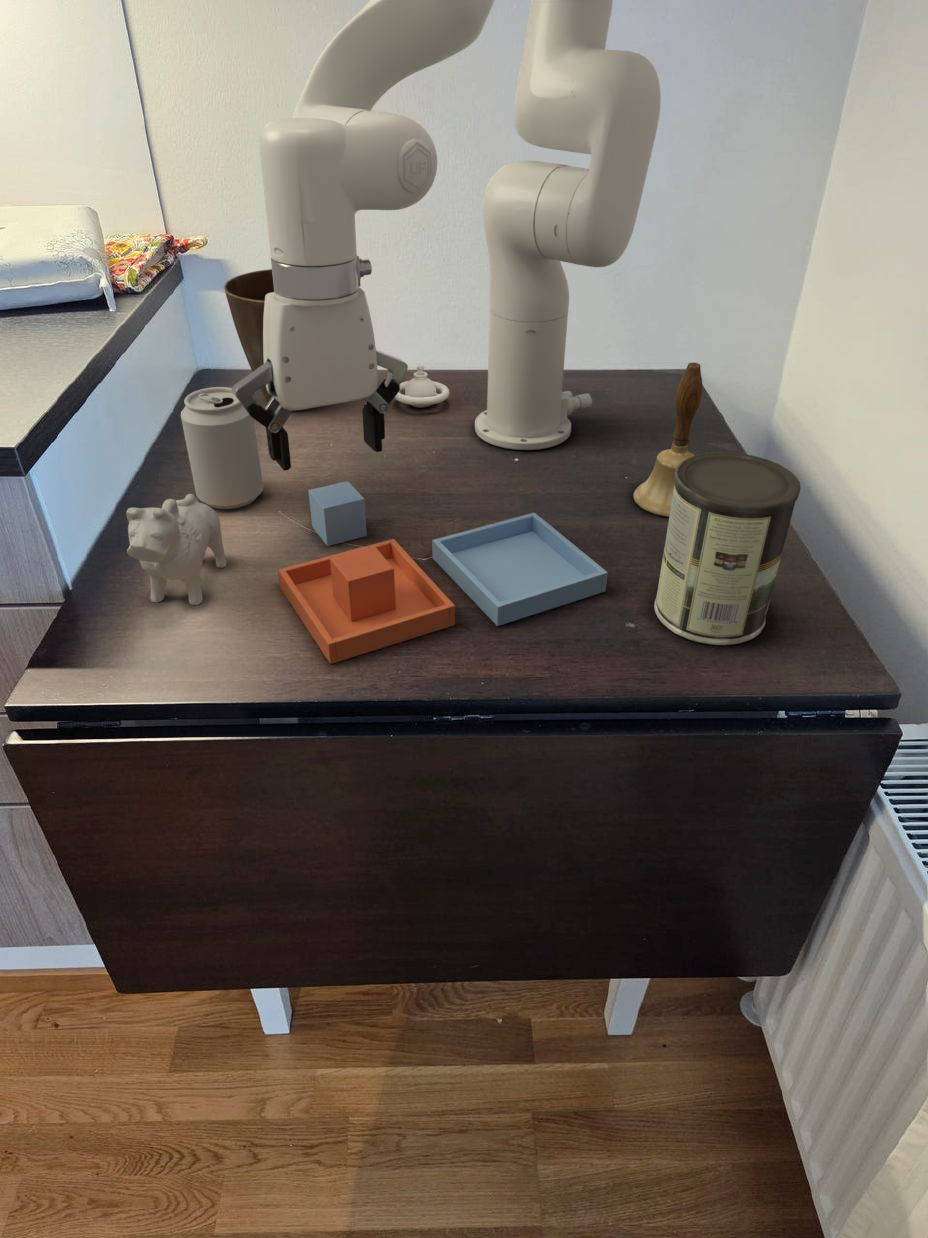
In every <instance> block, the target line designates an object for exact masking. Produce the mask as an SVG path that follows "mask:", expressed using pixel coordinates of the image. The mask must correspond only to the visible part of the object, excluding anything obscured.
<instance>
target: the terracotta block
mask: <svg viewBox="0 0 928 1238" xmlns="http://www.w3.org/2000/svg"><path fill="white" fill-rule="evenodd" d="M330 566H331V576H332V587H333V597H334V598H335V600H336V601H337V603H338V604H339V605H340V607H341V608H342V609H343V611H344V612H345V613H346V615H347V616H348V617H349V619H350V620H351V621H352V622H353V621H356V620H359V619H363V618H366V617H369V616H373V615H376V614H379V613H383V612H386V611H390V610H393V609H396V600H395V579H394V568H393V567H392V566H391V565H390V563H389V562H388V561H387V560H386V559H385V558H384V557H383V555H382V554H381V553H380V552H379V551H378V550H377V548H376V547H375V546H371V547H368V548H364V549H360V550H356V551H353V552H349V553H345V554H341V555H337V556H334V557H330Z"/></svg>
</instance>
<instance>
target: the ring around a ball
mask: <svg viewBox="0 0 928 1238" xmlns="http://www.w3.org/2000/svg"><path fill="white" fill-rule="evenodd" d="M416 370H417V371H415V372H414V373H413V374H412V375H413V378H411V379H410V380H407V381H402V383H401V384H400V390H399V392H398V394H397V395H396V396H395V397H394V400H396V401H397V402H399V403H402V404H406V405H411V406H412V407H414V408H428V407H430V406H431V405H436V404H440V403H443V402H444V401H446V400H448V398H449V397H450V394H451V393H450V389H449V388H448V386H447V385H445V384H443V383H442V382H439V381H434V380H431V379H430V378H428V375H429V374H428V373H427V372H426V371H424V370H425V367H424V365H423V364H418V365H417V366H416ZM403 391H404V394H402V393H401V392H403ZM437 391H439V392H440V393H437Z"/></svg>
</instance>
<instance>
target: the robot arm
mask: <svg viewBox="0 0 928 1238" xmlns="http://www.w3.org/2000/svg"><path fill="white" fill-rule="evenodd" d="M495 1H496V0H369V1H368V2H367V3H366V4H365V5H364V6H363V7H362V8H361V9H360V10H359V11H358V12H357V13H356V14H355V15H354V16H353V17H352V18H351V19H350V20H349V21H348V22H347V23H346V24H345V25H343V27H342V28H341V29H339V31H338V32H336V34H335V35H334V36H333V37H332V39H330V41H329V42H328V44H327V45H326V46H325V47H324V49H323V50H322V52H321V53H320V54H319V56H318V58H316V60H315V63H314V65H313V67H312V69H311V71H310V73H309V76H308V77H307V80H306V82H305V85H304V86H303V89H302V92H301V94H300V96H299V98H298V101H297V103H296V106H295V108H294V111H293V113H292V117H289V118H287V117H286V118H281V119H274V120H272V121H270V122H267V123H266V124H265V125H264V126H263V127H262V128H261V131H260V134H259V156H260V165H261V175H262V185H263V186H262V187H263V193H264V194H263V195H264V205H265V214H266V215H265V216H266V225H267V234H268V245H269V253H270V254H269V255H270V263H271V269H272V275H273V285H274V292H272V293H268V294H267V295H266V296H265V304H264V316H263V357H264V364H263V365H262V366H260V367H259V368H257V369H256V370H255V371H253V372H250V373H249V374H248V375H246V376H245V377H243V378H242V379H240V380H239V381H238V382H236V383H235V384H234V385H232V387H231V388H232V392H233V393H234V395H235V396H236V398H237V399H238V400H239V402H240V403H241V404H242V406H243V407H244V408H245V410H246V411H247V412H248V414H249V415H250V416H251V417H252V418H253V419H254V421H256V422H258V424H260V425H262V426H263V427H264V428H265V432H266V440H267V450H268V456H269V457H270V459H271V460H272V461H275V462H276V463H277V465H279V467H280V469H282V471H289V470H290V469H291V468H292V462H291V453H290V452H291V451H290V443H289V442H290V441H289V434H288V433H289V432H288V431H287V430H286V429H285V428H284V425H285V424H286V423H287V421H288V419H289V418H290V416H291V415H292V413H293V412H294V411H293V410H302V409H308V410H310V409H309V408H311V409H314V408H319V407H326V406H331V405H332V406H333V405H337V404H338V405H339V404H343V403H349V402H355V401H359V400H363V399H364V400H365V401H366V404H363V407H362V409H361V410H362V430H363V433H362V434H363V442H364V443H365V444H366V445H367V446H368V447H369V448H370V449H371V450H372V451H373V452H375V453H380V452H382V451H383V440H385V439H386V427H385V414H387V412H388V411H389V409H390V404H391V403H392V402H393V400H395V398H394V397H395V396H396V395H397V394H398V392H399V390H400V384H401V383H402V382H404V381H403V380H404V378H405V376H406V373H407V371H408V368H409V366H408V364H407V363H406V362H405V361H404V360H402V359H401V358H398V357H395V356H393V355H391V354H388V353H385V352H383V351H381V350H378V349H376V340H375V334H374V333H375V332H374V327H373V322H372V317H371V311H370V307H369V303H368V300H367V296H366V292H365V291H364V290H363V289H362V288H361V279H362V278H364V277H365V276H371V274H372V273H373V267H372V263H371V261H370V259H368V258H367V259H362V258H360V256H358V254H357V253H358V252H357V231H356V213H357V212H359V211H369V210H370V211H399V210H404V209H407V208H409V207H412V206H414V205H416V204H417V203H418V202H420V201H421V200H423V198H424V197H425V196H426V195H427V194H428V193H429V191H430V190H431V188H432V186H433V184H434V182H435V180H436V176H437V172H438V155H437V149H436V146H435V145H436V144H435V143H434V141H433V139H432V137H431V135H430V134H429V132H428V131H427V129H425V128H424V127H423V126H422V125H421V124H420V123H419V122H417V121H416V120H414V119H412V118H410V117H408V116H405V115H401V114H398V113H392V112H385V111H375V110H373V108H374V106H375V105H376V104H377V103H378V102H379V100H380V99H381V98H382V97H383V96H385V94H386V93H387V92H388V91H389V90H391V89H392V88H393V87H394V86H396V85H397V84H398V83H399V82H401V81H403V80H404V79H406V78H408V77H410V76H411V75H413V74H415V73H417V72H420V71H422V70H424V69H427V68H428V67H433V66H434V65H436V64H438V63H440V62H443V61H444V60H447V59H449V58H450V57H453V56H454V55H456V54H458V53H461V51H463V50H465V49H468V47H470V46H471V45H472V44H474V42H475V41H476V40H477V39H479V37H480V35H481V33H482V32H483V29H484V27H485V25H486V22H487V19H488V17H489V15H490V13H491V10H492V8H493V5H494V3H495ZM613 1H614V0H530V3H529V11H528V18H527V25H526V29H525V35H524V40H523V48H522V54H521V59H520V66H519V70H518V76H517V77H518V78H517V82H516V88H515V96H514V105H513V123H514V127H515V131H516V132H517V134H518V135H519V137H520V138H521V139H522V140H523V141H525V142H526V143H528V144H530V145H532V146H535V147H539V148H543V149H549V150H555V151H562V152H569V153H576V154H578V153H579V154H584V155H590V163H589V168H586V167H579V166H572V165H568V164H561V163H555V162H547V161H540V160H539V161H538V160H519V161H513V162H510V163H507V164H505V165H504V166H502V167H500V168H499V169H497V170H496V172H495V173H493V174H492V176H491V177H490V179H489V181H488V183H487V185H486V187H485V190H484V195H483V201H482V220H483V228H484V234H485V240H486V245H487V253H488V263H489V264H488V265H489V313H488V314H489V315H488V316H489V317H488V319H489V320H488V322H489V323H488V354H487V356H488V358H487V359H488V360H487V361H488V362H487V393H486V395H487V396H486V397H487V399H486V404H487V405H486V409H485V410H484V411H482V412H480V413H479V414H478V415H477V416H476V417H475V419H474V432H475V434H476V435H477V437H479V438H480V439H481V440H482V441H484V442H486V443H488V444H490V445H493V446H495V447H499V448H502V449H507V450H517V451H535V450H537V451H538V450H544V449H549V448H552V447H556V446H558V445H560V444H562V443H564V442H565V441H566V440H568V438H569V437H570V436H571V432H572V421H571V420H570V419H569V418H568V416H570V415H571V414H572V413H573V412H574V411H581V410H586V409H590V408H592V405H593V399H592V397H591V395H590V394H589V393H588V392H587V393H582V394H576V395H573V392H572V391H571V390H565V391H563V386H564V385H563V384H564V370H565V358H566V345H567V344H566V343H567V334H568V333H567V332H568V319H569V318H568V317H569V308H570V290H569V289H570V288H569V283H568V279H567V275H566V273H565V270H564V268H563V265H562V262H563V263H567V264H572V265H577V266H584V267H590V268H604V267H608V266H611V265H613V264H614V263H616V262H617V261H618V260H619V259H621V257H622V256H623V255H624V253H625V252H626V249H627V248H628V245H629V243H630V241H631V238H632V235H633V232H634V230H635V226H636V223H637V217H638V213H639V210H640V205H641V200H642V197H643V192H644V189H645V188H644V187H645V183H646V178H647V175H648V171H649V166H650V162H651V158H652V153H653V149H654V145H655V141H656V136H657V131H658V126H659V122H660V121H659V120H660V115H661V114H660V113H661V99H662V97H661V96H662V95H661V85H660V79H659V75H658V72H657V70H656V68H655V65H653V64H652V62H651V61H650V60H649V59H648V58H647V57H646V56H644V55H642V54H641V53H637V52H634V51H629V50H619V49H606V45H607V39H608V33H609V27H610V22H611V21H610V20H611V16H612V9H613ZM378 367H380V368H383V369H386V370H387V374H386V377H385V378H384V379H383V380H382V382H381V383H380V384H378V383H379V371H378V369H379V368H378ZM265 385H266V389H267V391H268V393H269V394H270V395H272V398H271V399H270V401H269V402H267V404H266V405H265V407H263V406H261V404H259V403H258V402H257V401H256V399H255V394H256V393H257V392H258V391H260V390H261V388H262V387H264V386H265ZM378 385H379V386H378ZM399 393H400V392H399Z"/></svg>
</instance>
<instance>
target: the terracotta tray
mask: <svg viewBox="0 0 928 1238" xmlns="http://www.w3.org/2000/svg"><path fill="white" fill-rule="evenodd" d="M371 546H375V547H376V548H377V550H378V551H379V552H380V553H381V554H382V555H383V557H384V558H385V559H386V560H387V561H388V562H389V563H390V565H391V566H392V567H393V568H394V579H395V600H396V609H393V610H390V611H386V612H383V613H379V614H376V615H373V616H369V617H366V618H363V619H359V620H356V621H353V622H352V621H351V620H350V619H349V617H348V616H347V615H346V613H345V612H344V611H343V609H342V608H341V607H340V605H339V604H338V603H337V601H336V600H335V598H334V597H333V587H332V576H331V566H330V557H334V556H337V555H341V554H345V553H349V552H353V551H356V550H360V549H364V548H368V547H371ZM277 573H278V574H277V575H278V581H279V587H280V590H281V591H282V593H283V595H284V596H285V597H286V599H287V600H288V602H289V604H290V605H291V607H292V608H293V609H294V611H295V613H296V614H297V617H299V619H300V620H301V622H302V623H303V625H304V626H305V628H306V629H307V632H308V633H309V634H310V636H311V637H312V638H313V640H314V642H315V643H316V645H317V646H318V648H319V649H320V651H321V652H322V654H323V655H324V657H325V658H326V660H327V661H328V663H329V664H330V665H333V664H336V663H339V662H343V661H346V660H349V659H352V658H356V657H358V656H361V655H364V654H368V653H371V652H374V651H378V650H380V649H384V648H387V647H389V646H393V645H396V644H400V643H402V642H406V641H408V640H413V639H415V638H418V637H421V636H425V635H428V634H431V633H435V632H438V631H441V630H444V629H447V628H451V627H453V626H455V625H456V605H455V604H454V603H453V602H452V600H450V599H449V597H448V596H447V594H445V592H444V591H442V590H441V588H439V587H438V585H437V584H436V583H435V582H434V581H433V580H432V579H431V578H430V577H429V576H428V574H426V572H425V571H424V570H423V569H422V568H421V567H420V566H419V564H418V563H417V562H415V560H414V559H413V558H412V557H411V556H410V555H409V554H408V553H407V551H406V550H405V549H404V548H403V547H402V546H401V545H400V544H399V543H398V542H397V540H395V539H394V538H392V539H389V540H383V541H381V542H376V543H374V544H373V543H372V544H369V545H366V546H361V547H358V548H355V549H350V550H347V551H343V552H339V553H335V554H331V555H328V556H324V557H320V558H316V559H313V560H308V561H305V562H300V563H297V564H293V565H289V566H286V567H282V568H279V569H277Z"/></svg>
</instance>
